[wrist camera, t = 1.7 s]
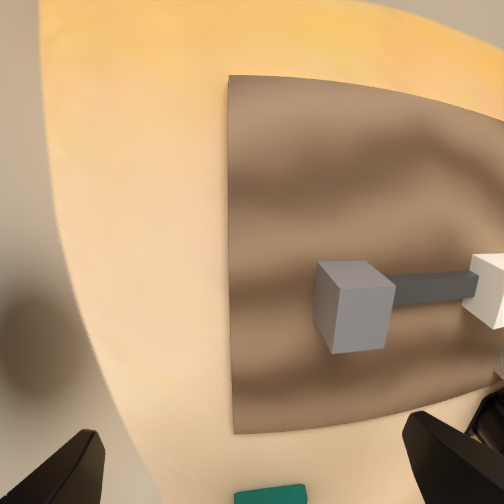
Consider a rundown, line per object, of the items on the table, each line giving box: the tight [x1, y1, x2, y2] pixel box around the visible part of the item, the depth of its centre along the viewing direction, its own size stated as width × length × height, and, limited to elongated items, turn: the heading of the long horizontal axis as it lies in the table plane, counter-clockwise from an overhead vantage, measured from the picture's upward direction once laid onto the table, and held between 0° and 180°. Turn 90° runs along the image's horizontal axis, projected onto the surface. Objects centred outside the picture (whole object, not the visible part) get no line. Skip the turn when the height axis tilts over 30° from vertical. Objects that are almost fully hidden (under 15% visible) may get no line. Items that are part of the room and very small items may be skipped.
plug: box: [313, 253, 504, 354], centre depth 18 cm, size 4×19×4 cm, turn 90°
